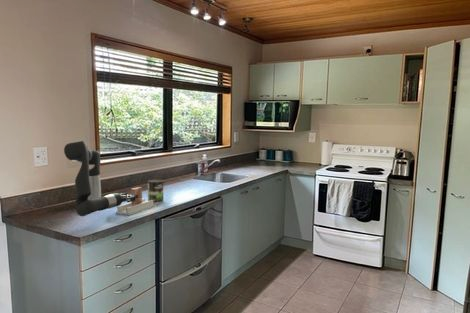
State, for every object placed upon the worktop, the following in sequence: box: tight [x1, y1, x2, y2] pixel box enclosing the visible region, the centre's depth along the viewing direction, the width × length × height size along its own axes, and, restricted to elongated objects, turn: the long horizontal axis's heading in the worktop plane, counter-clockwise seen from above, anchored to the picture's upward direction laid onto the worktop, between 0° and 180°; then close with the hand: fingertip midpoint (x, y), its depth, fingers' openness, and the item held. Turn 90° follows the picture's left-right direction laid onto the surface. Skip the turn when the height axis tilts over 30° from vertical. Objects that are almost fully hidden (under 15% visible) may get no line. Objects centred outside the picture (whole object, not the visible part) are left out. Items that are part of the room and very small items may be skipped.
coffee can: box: [147, 178, 164, 205], centre depth 226 cm, size 10×10×14 cm
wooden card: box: [130, 186, 143, 206], centre depth 208 cm, size 6×3×12 cm, turn 152°
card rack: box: [115, 197, 156, 216], centre depth 208 cm, size 22×10×4 cm, turn 153°
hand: (132, 195), depth 204 cm, fingers open, 8 cm apart
